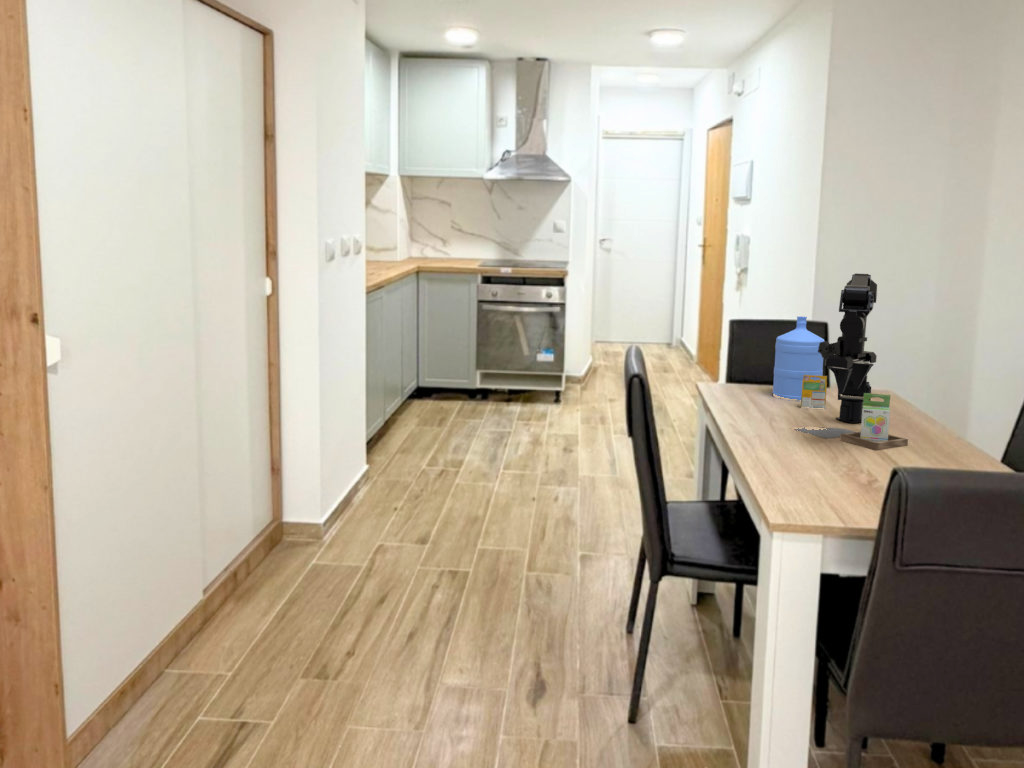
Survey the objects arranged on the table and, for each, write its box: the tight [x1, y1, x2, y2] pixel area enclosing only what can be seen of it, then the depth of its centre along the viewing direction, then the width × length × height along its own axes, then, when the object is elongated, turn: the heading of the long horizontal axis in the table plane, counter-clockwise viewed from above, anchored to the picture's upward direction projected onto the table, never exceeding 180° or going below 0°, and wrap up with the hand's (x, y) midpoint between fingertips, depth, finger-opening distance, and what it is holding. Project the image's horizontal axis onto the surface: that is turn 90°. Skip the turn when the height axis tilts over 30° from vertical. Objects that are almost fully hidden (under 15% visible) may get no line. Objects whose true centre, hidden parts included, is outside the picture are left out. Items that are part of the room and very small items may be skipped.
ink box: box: [860, 392, 891, 442], centre depth 255 cm, size 7×4×13 cm, turn 70°
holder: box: [839, 431, 909, 451], centre depth 256 cm, size 12×12×2 cm
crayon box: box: [800, 375, 828, 410], centre depth 300 cm, size 7×3×12 cm, turn 76°
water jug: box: [771, 316, 825, 400], centre depth 317 cm, size 16×16×28 cm
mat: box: [794, 427, 856, 440], centre depth 269 cm, size 14×14×1 cm
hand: (848, 390), depth 257 cm, fingers open, 9 cm apart
